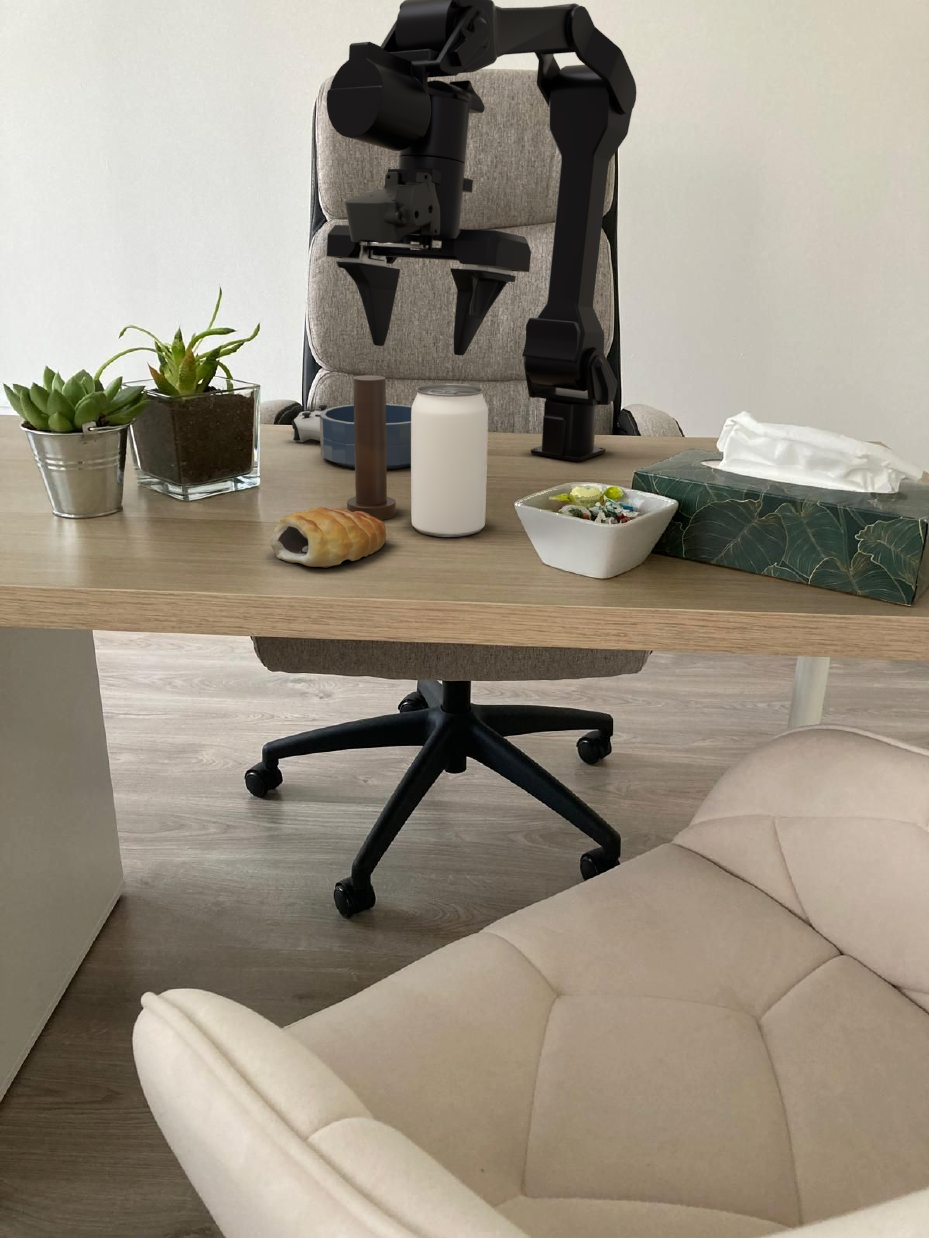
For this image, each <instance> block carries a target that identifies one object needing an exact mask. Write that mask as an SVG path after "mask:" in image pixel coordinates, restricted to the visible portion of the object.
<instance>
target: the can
mask: <svg viewBox="0 0 929 1238" xmlns="http://www.w3.org/2000/svg"><path fill="white" fill-rule="evenodd" d="M415 390H416V395H415V397H414V400H413V403H412V405H411V406H412V409H411V466H410V488H411V489H410V498H411V501H410V503H411V504H410V507H411V508H410V509H411V511H410V512H411V525H412V527H414V529H415V531H417V532H418V533H420V534H423V535H425V536H431V537H436V538H463V537H469V536H473V535H476V534H478V533H480V532H481V531H482V529H483V528H484V527H485V524H486V511H487V507H486V506H487V479H488V476H487V475H488V442H489V441H488V440H489V438H488V436H489V433H488V432H489V407H488V404H487V402H486V399H485V397H484V395H483V394H484V388H483V387H481V386H478V385H473V384H464V383H430V384H429V383H428V384H423V385H419V386H417V387H416V388H415Z"/></svg>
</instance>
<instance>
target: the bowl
mask: <svg viewBox="0 0 929 1238" xmlns="http://www.w3.org/2000/svg"><path fill="white" fill-rule="evenodd" d="M411 409H412V405H406V404H397V403H395V404H394V403H386V467H387V470H394V469H403V468H407V467H411ZM319 442H320V443H319V444H320V455H321V456H322V458H324V459H325V460H328V461H330V462H333V463H334V464H337V465H339V466H341V467H346V468H353V469H355V441H354V404H346V405H345V404H344V405H338V406H333V407H328V408H326V410H324V411H322V412H321V413H320V441H319Z"/></svg>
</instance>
